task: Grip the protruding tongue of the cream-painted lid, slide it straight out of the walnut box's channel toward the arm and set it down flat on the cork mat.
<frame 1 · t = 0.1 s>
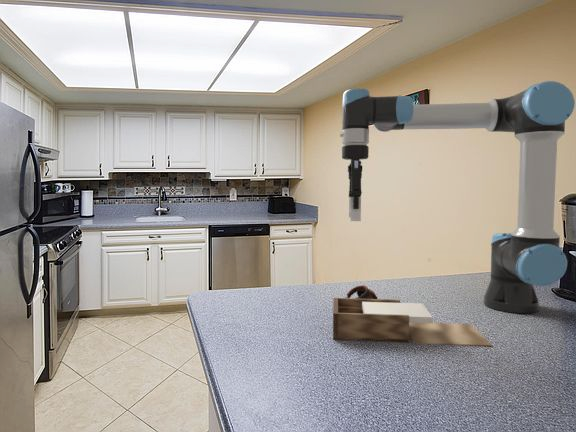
hand: (354, 219, 119), 28 cm above the countertop, fingers open, 13 cm apart
cork mat: (444, 333, 105), on the countertop
walnut box: (368, 330, 107), on the countertop
pottery mug: (363, 309, 127), on the countertop
cover plate: (395, 314, 106), point 4 cm above the countertop, touching walnut box
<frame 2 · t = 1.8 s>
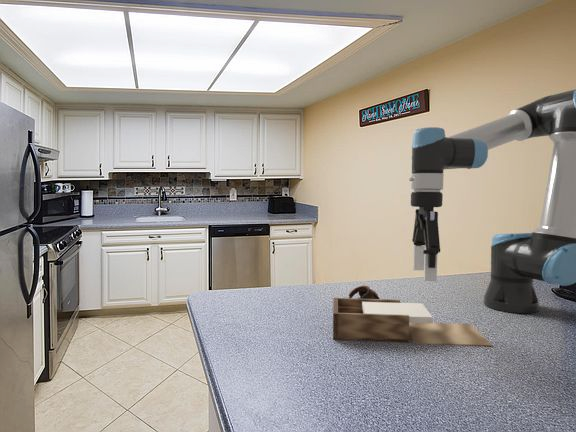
hand: (424, 275, 104), 15 cm above the countertop, fingers open, 13 cm apart
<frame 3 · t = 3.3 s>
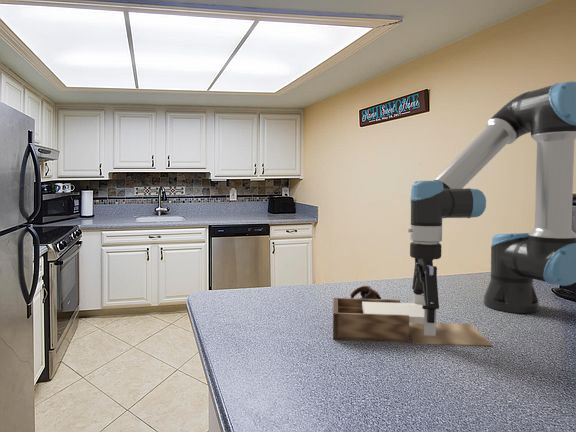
hand: (423, 326, 105), 2 cm above the countertop, fingers closed on cover plate, 12 cm apart
cover plate: (395, 314, 106), point 5 cm above the countertop, touching gripper, walnut box
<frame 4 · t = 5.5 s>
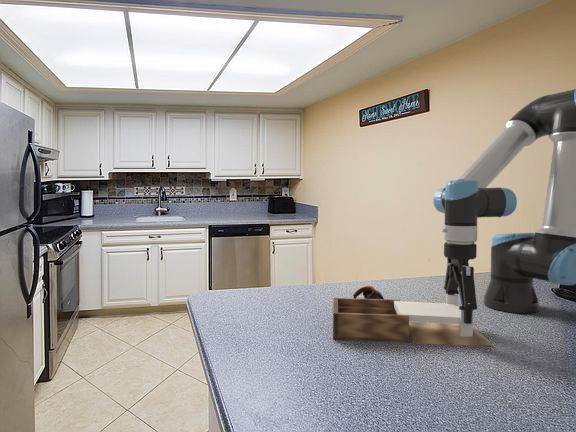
hand: (458, 326, 104), 2 cm above the countertop, fingers closed on cover plate, 12 cm apart
cover plate: (428, 314, 105), point 5 cm above the countertop, touching gripper
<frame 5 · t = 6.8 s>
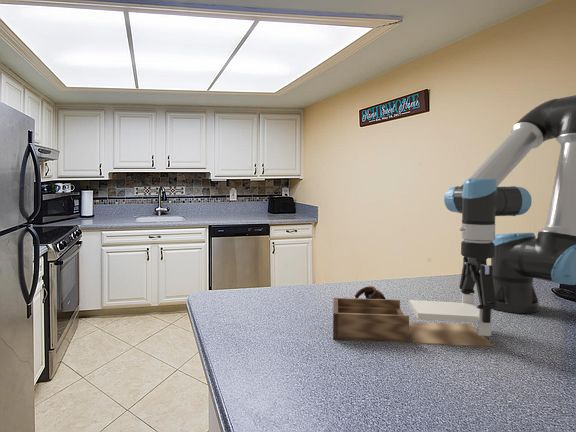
hand: (475, 326, 104), 2 cm above the countertop, fingers closed on cover plate, 12 cm apart
cover plate: (445, 313, 104), point 5 cm above the countertop, touching gripper
when the fingers open (2 cm above the countertop, at t = 7.7 s): cover plate drops 5 cm, resting on cork mat.
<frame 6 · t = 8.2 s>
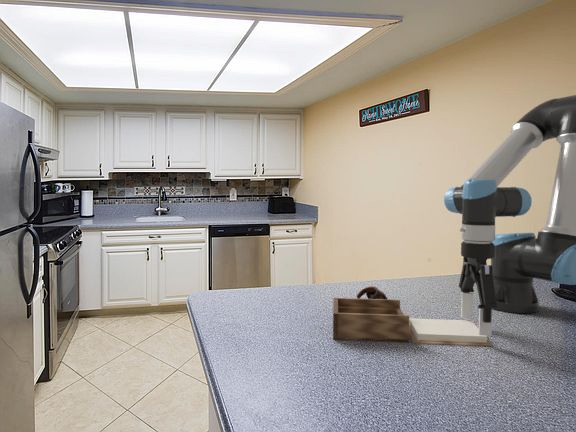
hand: (475, 325, 104), 2 cm above the countertop, fingers open, 13 cm apart
cover plate: (445, 332, 105), resting on cork mat
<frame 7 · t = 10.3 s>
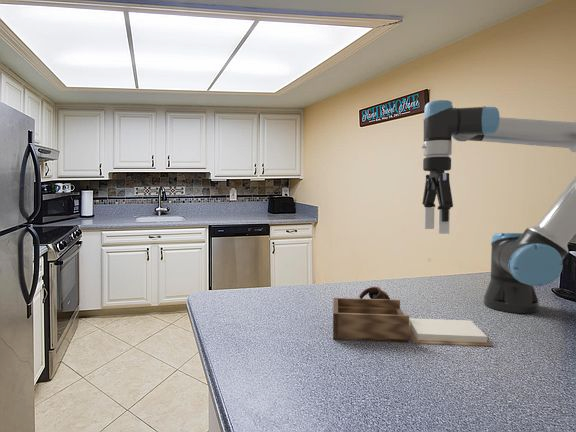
hand: (436, 231, 119), 25 cm above the countertop, fingers open, 13 cm apart
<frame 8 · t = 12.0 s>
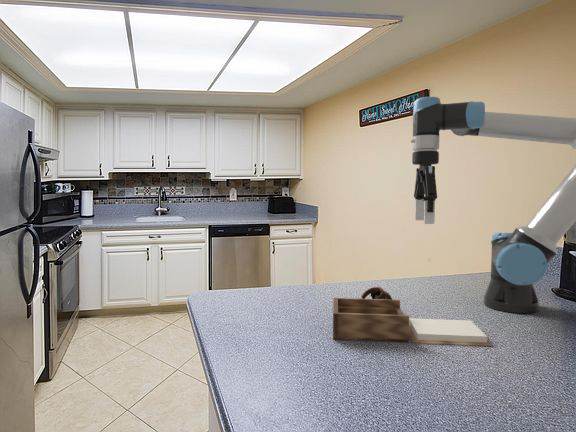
hand: (424, 222, 124), 27 cm above the countertop, fingers open, 13 cm apart
at the end: cover plate inside the target area (4.7 cm from its centre), resting on cork mat; cover plate tilted 0°; cover plate touching cork mat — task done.
